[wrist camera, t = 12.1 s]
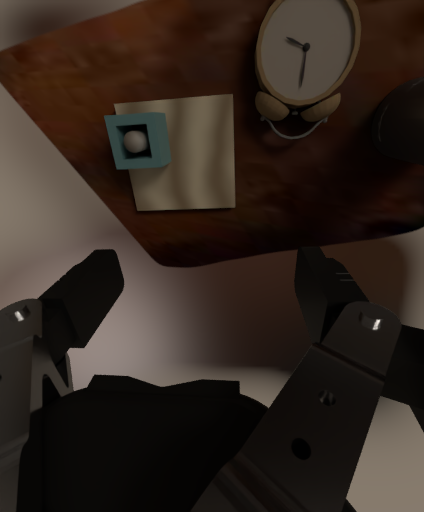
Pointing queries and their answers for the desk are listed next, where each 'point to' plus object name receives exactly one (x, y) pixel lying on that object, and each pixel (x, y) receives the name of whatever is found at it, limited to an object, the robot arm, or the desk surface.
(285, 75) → the alarm clock
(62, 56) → the desk surface
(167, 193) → the post board
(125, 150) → the teal square frame
